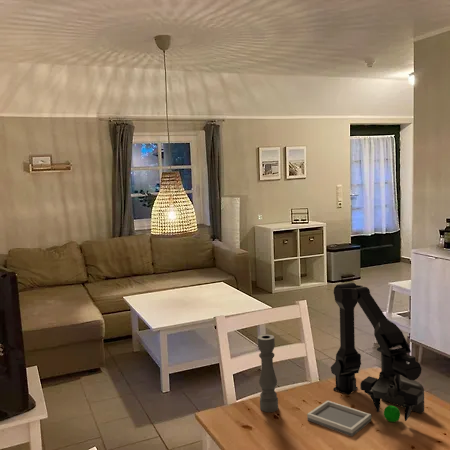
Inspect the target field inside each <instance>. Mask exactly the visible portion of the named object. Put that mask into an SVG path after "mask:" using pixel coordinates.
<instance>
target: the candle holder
mask: <svg viewBox="0 0 450 450" xmlns="http://www.w3.org/2000/svg"><path fill="white" fill-rule="evenodd" d="M275 340H276V339H275V335H273V334H261V335H260V334H259V335H258V336H257V347H258V350H259V352H260V353H259V354H258V356H259V358H260V361H261V362H260V363H261V369H260V375H259V379H258V383H259V386H260V387H261V392H260V395H259V396H260V397H259V409H260V411H262V412H265V413H274V412H276V411H278V409H279V398H278V394H277V392H276V391H275V389H276V387H277V384H278V380H277V375H276V372H275V369H274V360H273V359H274V358H275V353H274V349H275V347H276V346H275V344H276V342H275Z"/></svg>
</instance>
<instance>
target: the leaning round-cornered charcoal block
mask: <svg viewBox="0 0 450 450" xmlns="http://www.w3.org/2000/svg"><path fill="white" fill-rule="evenodd" d="M401 383H403V386H402V387H401V389H403V390H406V391H408V390H409V389H410V388H415V389H419V390H422V391H423V393H424V394H425V388H424V386H423V385H422V383H420V382H418V381H416V380H409V379H407V378H405V377H403V376H401ZM386 402H388V403H390V404H393V405H395V406H398V407H400V408H401V407H402V408H404V409H405V406H404V404H403V403H404V402H405V400H404V396H400V395H396V397H395V398H393V397H391V398H390V399H389V400H388V401H386ZM411 411H413V412H415V413H418V414H423V413H424V412H425V399H424V400H423V401H422V402H420V403H419V404H418V405H415V406H413V408H412V410H411Z"/></svg>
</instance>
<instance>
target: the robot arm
mask: <svg viewBox="0 0 450 450" xmlns="http://www.w3.org/2000/svg"><path fill="white" fill-rule="evenodd" d="M333 288H334V289H333V295H334V301H335V303H336V304H337V306H338V308H339V331H340V332H339V334H340V335H339V338H340V340H339V341H340V343H339V344H340V347H339V348H338V351H337V352H336V354H335V362H333V364H332V365H331V366H330V370H331V374H333V375H334V376H335V387H333V391H336V392H339V393H341V394H346V395H350V394H352V393H353V392H355V391H356V390H358V386H357V378H356V374H359V372H360V370H361V369H360V368H361V366H362V360H361V358H362V355H361V353H360V352H359V351H358V350H357V349H356V342H355V337H356V336H355V307H356V305H359V307H360V308H361V310H362V311H363V313H364V314H365V316H366V318H367V319H368V320H369V322H370V324H371V326H373V329H374V331H373V336H374V337H375V340H376V342H377V344H378V346H379V347H377V348H376V351H377V352H378V353H379V352H380V362H381V368H380V369H381V370H380V372H379V374H378V375H379V376H378V378H377V377H374V376H373V377H372V376H367V377H365V378H364V379H363V380H361V382H360V390H361V391H363V392H364V394H367V395H368V396H369V397H370V399H371V400H372V403H373V405H374V408H375V411H376V413H379V412H380V409H381V400H382V401H384V402H387V401H388V400H389V399H390V398H391V397H393V398H395V397H396V395H400V396H404V400H405V402H404V403H403V404H404V406H405V408H404V415H403V416H404V421H405V422H407V421H408V419H409V417H410V414H411V413H412V412H411V411H412V408H413V406H415V405H418V404H419V403H420V402H422V401H423V400H424V401H425V392H424V393H423V391H422V390H419V389H415V388H410V389H409V390H408V391H406V390H403V389H401V387H402V386H403V383H401V376H403V377H405V378H407V379H409V380H415V381H416V380H418V378H420V375H421V374H422V367H421V364H420V362H419V361H416V358H417V357H416V356H413V355H410V354H409V353H411V352H412V351H411V349H410V345H409V343H408V342H407V340H406V337H405V335H404V333H403V331H402V330H401V329H400V328H399V327H398V325H396V324H395V323H394V322H392V321H391V320H389V319H388V318H387V316H386V315H385V314H384V312H383V310H382V309H381V308H380V307H379V305H378V303H377V301H376V300H375V299H374V297H373V296H372V294H371V290H370V288H369V287H367V286H363V285H360V284H359V285H358V284H356V283H355V282H352V281H351V282H345V283H339V284H338V283H337V284H336V285H335V286H334V287H333ZM397 347H398V348H397Z"/></svg>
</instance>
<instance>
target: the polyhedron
mask: <svg viewBox="0 0 450 450" xmlns="http://www.w3.org/2000/svg"><path fill="white" fill-rule="evenodd" d="M383 417H384V418H385V420H387V421H388V422H389V423H396V422H398V421H399V419H400V417H401V411H400V410H399V408H398V407H397V406H396V405H387V406H386V407H384V410H383Z"/></svg>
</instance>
